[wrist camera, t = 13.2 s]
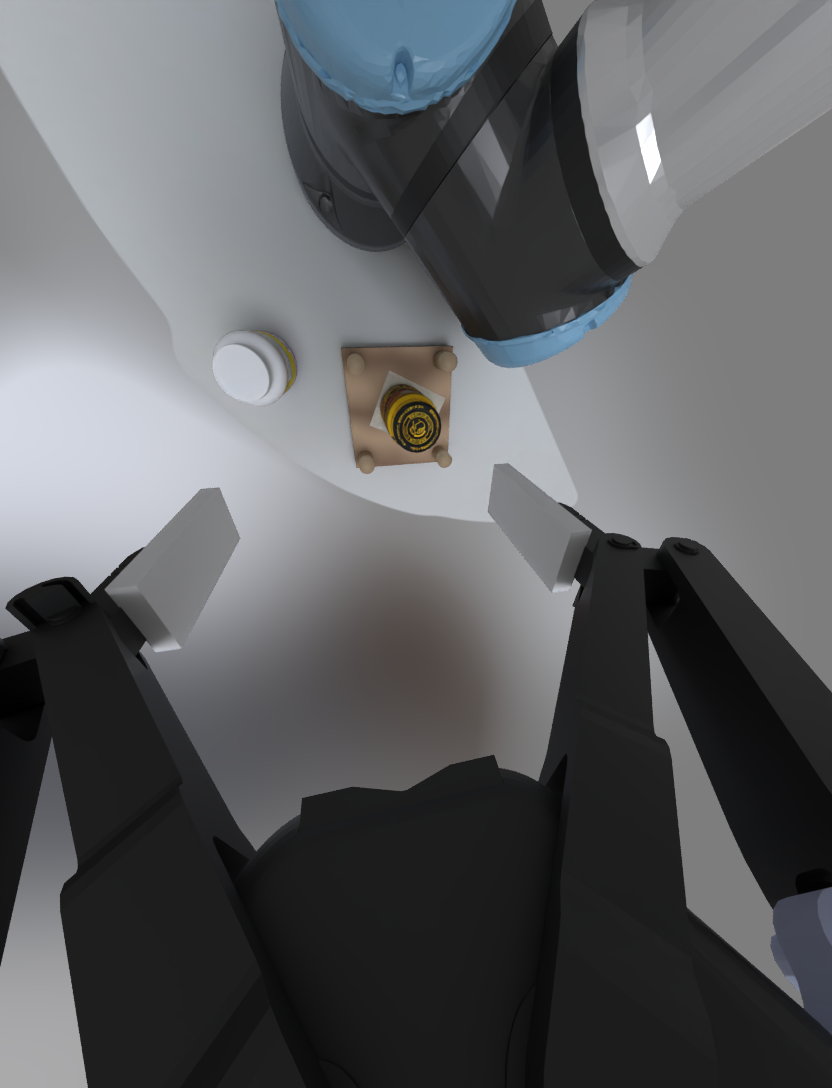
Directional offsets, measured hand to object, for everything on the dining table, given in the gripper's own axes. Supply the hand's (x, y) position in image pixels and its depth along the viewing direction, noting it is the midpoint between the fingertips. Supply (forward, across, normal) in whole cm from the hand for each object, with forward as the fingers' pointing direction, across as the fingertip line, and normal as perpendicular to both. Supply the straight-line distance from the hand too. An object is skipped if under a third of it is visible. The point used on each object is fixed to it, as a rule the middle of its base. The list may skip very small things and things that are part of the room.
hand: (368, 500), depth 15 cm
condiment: (+31, +7, -2) cm, 32 cm away
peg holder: (+33, +6, -2) cm, 33 cm away
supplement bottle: (+33, -10, +4) cm, 35 cm away
